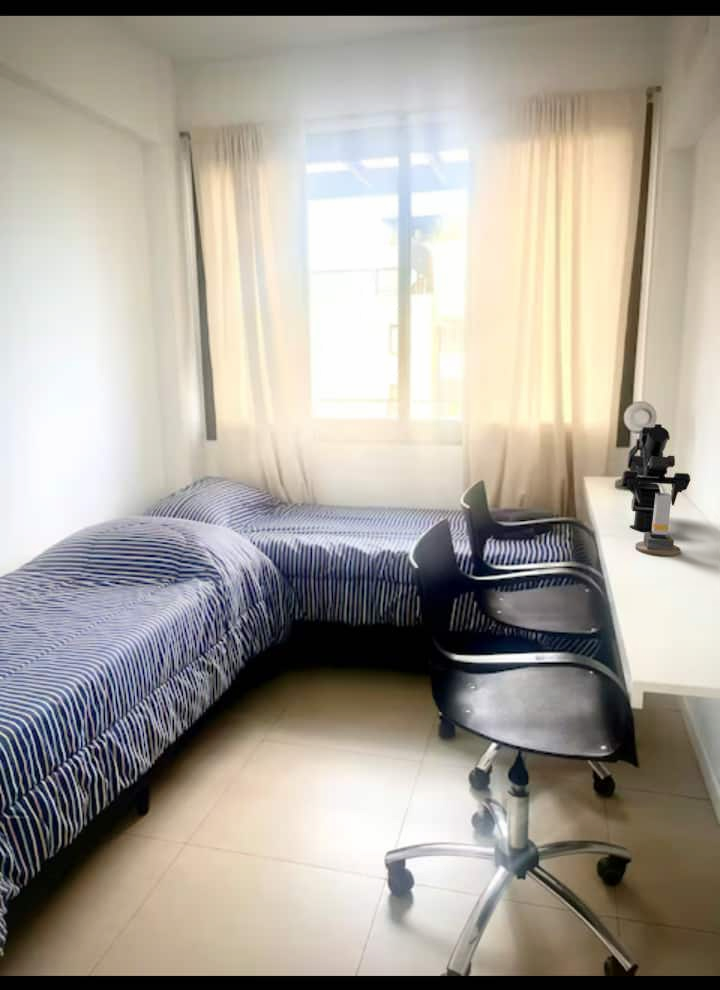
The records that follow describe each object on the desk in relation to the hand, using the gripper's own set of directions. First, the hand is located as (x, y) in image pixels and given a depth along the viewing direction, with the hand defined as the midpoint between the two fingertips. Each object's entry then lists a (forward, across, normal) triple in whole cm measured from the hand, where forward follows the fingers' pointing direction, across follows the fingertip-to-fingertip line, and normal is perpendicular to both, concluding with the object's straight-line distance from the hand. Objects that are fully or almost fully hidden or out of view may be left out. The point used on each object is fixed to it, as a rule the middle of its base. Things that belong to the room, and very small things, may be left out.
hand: (656, 503), depth 205 cm
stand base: (+14, 0, +3) cm, 14 cm away
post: (+10, 0, -1) cm, 10 cm away
